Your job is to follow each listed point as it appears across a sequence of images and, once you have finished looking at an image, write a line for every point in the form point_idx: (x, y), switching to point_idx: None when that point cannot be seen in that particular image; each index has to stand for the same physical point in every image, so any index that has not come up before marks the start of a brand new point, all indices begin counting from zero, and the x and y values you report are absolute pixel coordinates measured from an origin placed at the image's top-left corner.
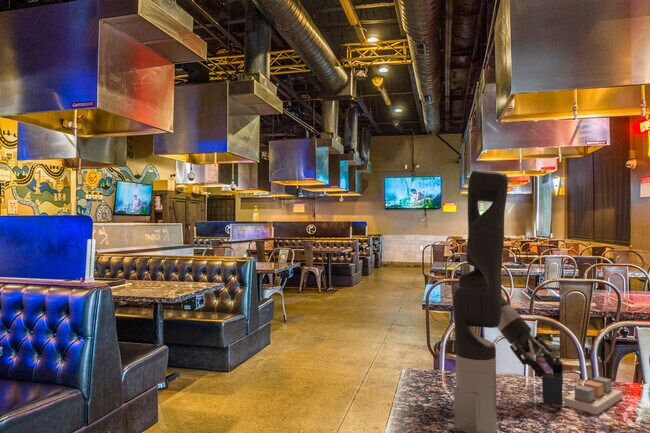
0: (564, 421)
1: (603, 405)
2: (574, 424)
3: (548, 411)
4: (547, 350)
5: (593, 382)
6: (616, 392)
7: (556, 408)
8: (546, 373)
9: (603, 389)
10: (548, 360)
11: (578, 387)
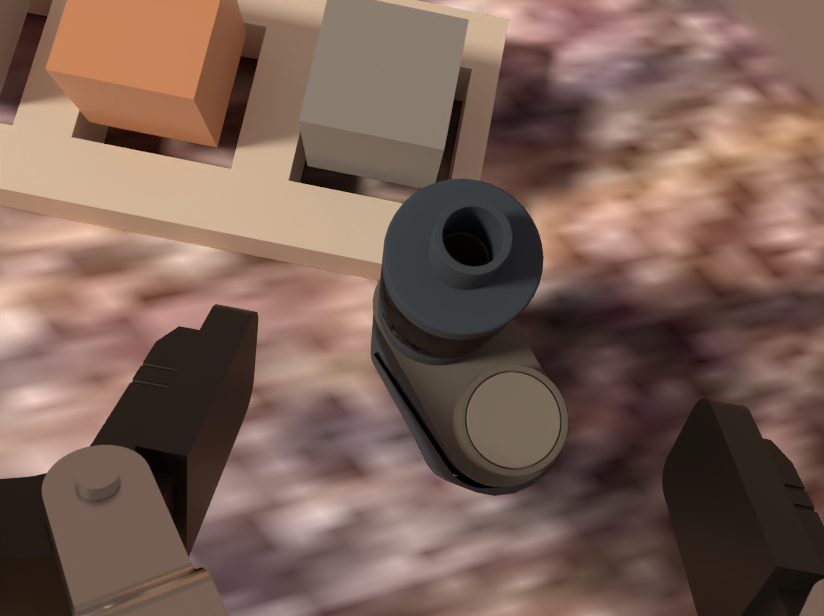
0: (809, 222)
1: None
2: (812, 155)
3: (693, 369)
4: (55, 537)
5: (96, 22)
6: None
7: (574, 332)
8: (563, 423)
9: (16, 4)
10: (203, 482)
11: (402, 121)
